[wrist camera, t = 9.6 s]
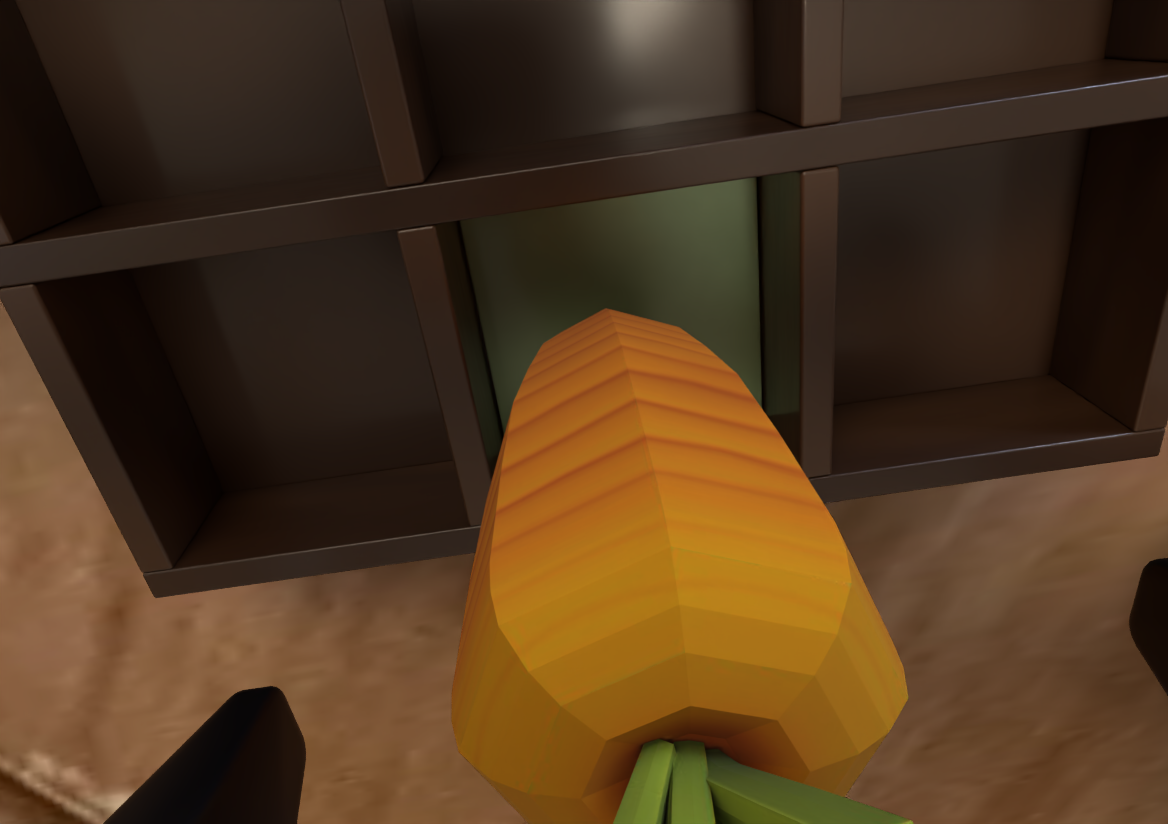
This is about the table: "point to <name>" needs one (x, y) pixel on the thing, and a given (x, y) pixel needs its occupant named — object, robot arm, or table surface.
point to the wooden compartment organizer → (568, 243)
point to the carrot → (664, 603)
